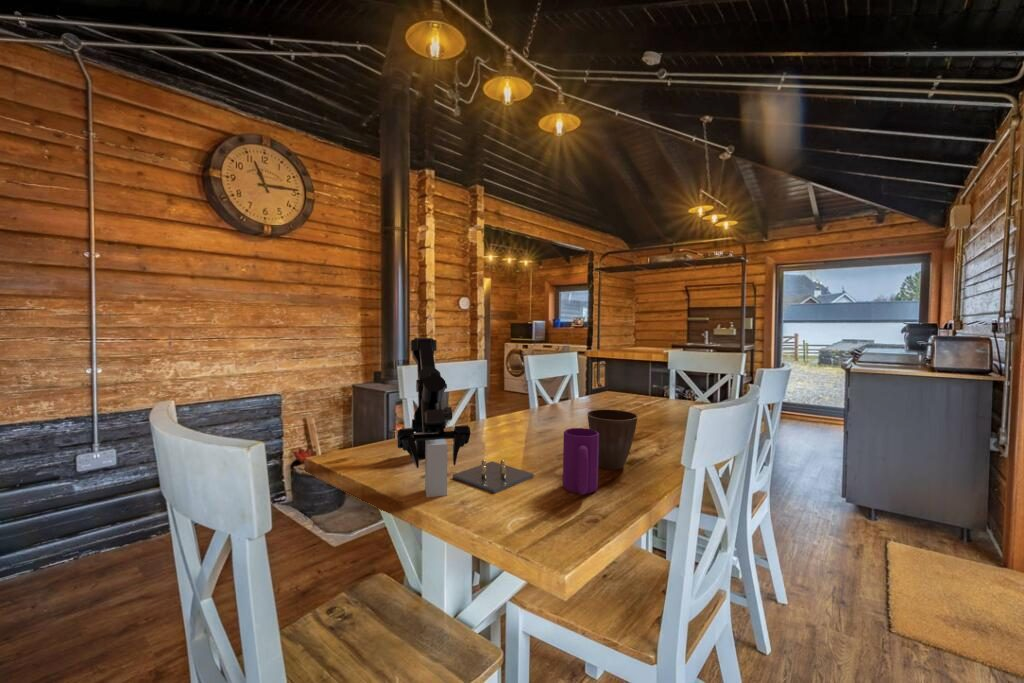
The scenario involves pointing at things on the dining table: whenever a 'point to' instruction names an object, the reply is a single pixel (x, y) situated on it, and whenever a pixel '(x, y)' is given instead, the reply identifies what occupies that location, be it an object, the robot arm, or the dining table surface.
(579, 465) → the mug
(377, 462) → the dining table surface
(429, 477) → the block
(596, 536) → the dining table surface
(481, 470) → the plate
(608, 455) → the plant pot
